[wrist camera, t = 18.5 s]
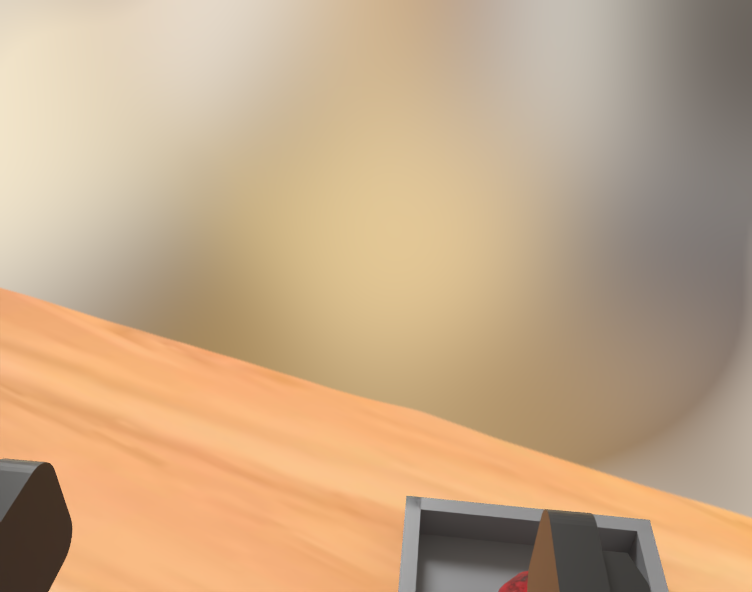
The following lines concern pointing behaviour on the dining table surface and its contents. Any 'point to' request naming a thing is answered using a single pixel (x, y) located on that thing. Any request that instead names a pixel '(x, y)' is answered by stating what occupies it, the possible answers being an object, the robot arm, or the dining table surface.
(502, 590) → the onion
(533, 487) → the dining table surface
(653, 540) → the tray
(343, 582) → the dining table surface
